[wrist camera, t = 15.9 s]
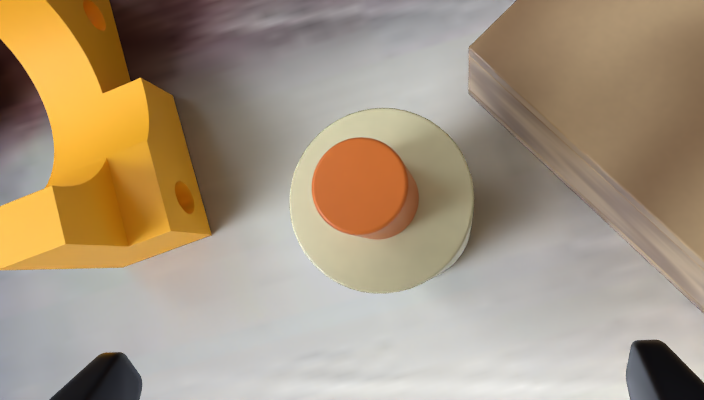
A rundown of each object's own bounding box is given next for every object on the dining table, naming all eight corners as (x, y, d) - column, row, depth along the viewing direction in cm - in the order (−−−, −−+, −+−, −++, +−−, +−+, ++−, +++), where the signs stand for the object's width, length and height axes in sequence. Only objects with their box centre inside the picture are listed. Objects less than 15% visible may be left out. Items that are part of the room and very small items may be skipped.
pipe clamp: (211, 235, 23) (114, 225, 16) (122, 267, 23) (-4, 270, 17) (142, -15, 25) (32, -108, 18) (62, 22, 25) (-71, -56, 19)
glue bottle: (495, 202, 20) (522, 145, 10) (429, 304, 21) (393, 349, 10) (392, 141, 22) (326, 35, 11) (331, 239, 22) (210, 220, 11)
